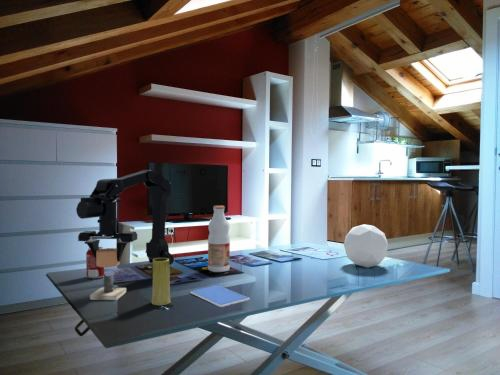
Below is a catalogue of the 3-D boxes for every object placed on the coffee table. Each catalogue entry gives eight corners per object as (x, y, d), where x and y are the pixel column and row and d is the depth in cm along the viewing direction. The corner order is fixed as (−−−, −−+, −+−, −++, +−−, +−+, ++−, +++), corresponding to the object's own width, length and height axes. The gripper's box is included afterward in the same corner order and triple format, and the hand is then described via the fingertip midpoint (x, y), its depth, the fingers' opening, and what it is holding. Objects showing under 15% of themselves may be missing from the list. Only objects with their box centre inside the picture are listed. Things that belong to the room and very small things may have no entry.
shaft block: (126, 292, 142) (126, 273, 141) (116, 300, 133) (116, 280, 132) (101, 291, 142) (101, 273, 142) (90, 299, 133) (89, 280, 133)
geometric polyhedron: (373, 283, 178) (383, 253, 166) (333, 262, 188) (339, 233, 175) (389, 257, 190) (399, 227, 178) (350, 238, 199) (357, 209, 187)
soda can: (98, 280, 157) (98, 249, 157) (83, 279, 159) (82, 249, 158) (107, 275, 164) (107, 246, 163) (92, 274, 165) (92, 246, 165)
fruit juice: (205, 268, 177) (205, 205, 176) (224, 266, 181) (224, 204, 180) (212, 273, 168) (212, 207, 167) (233, 271, 172) (233, 206, 171)
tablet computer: (251, 301, 134) (251, 297, 134) (220, 309, 126) (220, 305, 126) (218, 288, 149) (218, 284, 149) (188, 294, 141) (188, 291, 141)
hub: (122, 262, 140) (122, 248, 140) (114, 267, 133) (114, 252, 133) (102, 262, 141) (102, 248, 141) (93, 266, 134) (93, 252, 134)
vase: (153, 299, 133) (152, 257, 133) (171, 299, 134) (171, 257, 133) (150, 306, 127) (149, 261, 126) (169, 305, 128) (169, 261, 127)
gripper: (142, 213, 144) (142, 256, 145) (92, 213, 145) (92, 255, 146) (131, 217, 133) (131, 263, 133) (77, 216, 134) (77, 262, 135)
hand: (108, 261), depth 137 cm, fingers closed on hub, 7 cm apart
